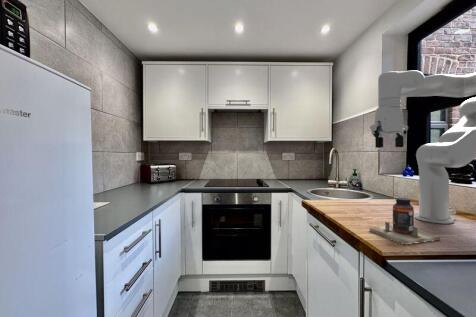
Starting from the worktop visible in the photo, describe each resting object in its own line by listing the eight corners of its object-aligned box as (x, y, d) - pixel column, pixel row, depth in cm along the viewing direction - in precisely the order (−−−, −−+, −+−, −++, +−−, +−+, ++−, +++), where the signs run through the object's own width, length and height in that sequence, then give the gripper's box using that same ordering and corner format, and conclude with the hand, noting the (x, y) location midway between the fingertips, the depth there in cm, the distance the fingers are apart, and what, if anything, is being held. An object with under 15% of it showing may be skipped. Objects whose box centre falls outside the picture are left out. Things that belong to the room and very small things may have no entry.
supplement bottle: (417, 234, 79) (417, 200, 79) (397, 234, 80) (397, 200, 80) (408, 229, 85) (408, 197, 84) (389, 228, 86) (389, 196, 86)
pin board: (400, 227, 91) (400, 216, 91) (439, 240, 77) (439, 227, 77) (369, 230, 87) (369, 219, 87) (404, 245, 74) (404, 231, 74)
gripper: (398, 106, 101) (398, 147, 102) (363, 105, 97) (364, 147, 98) (415, 103, 94) (415, 146, 94) (378, 101, 90) (378, 147, 90)
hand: (389, 147), depth 96 cm, fingers open, 9 cm apart
